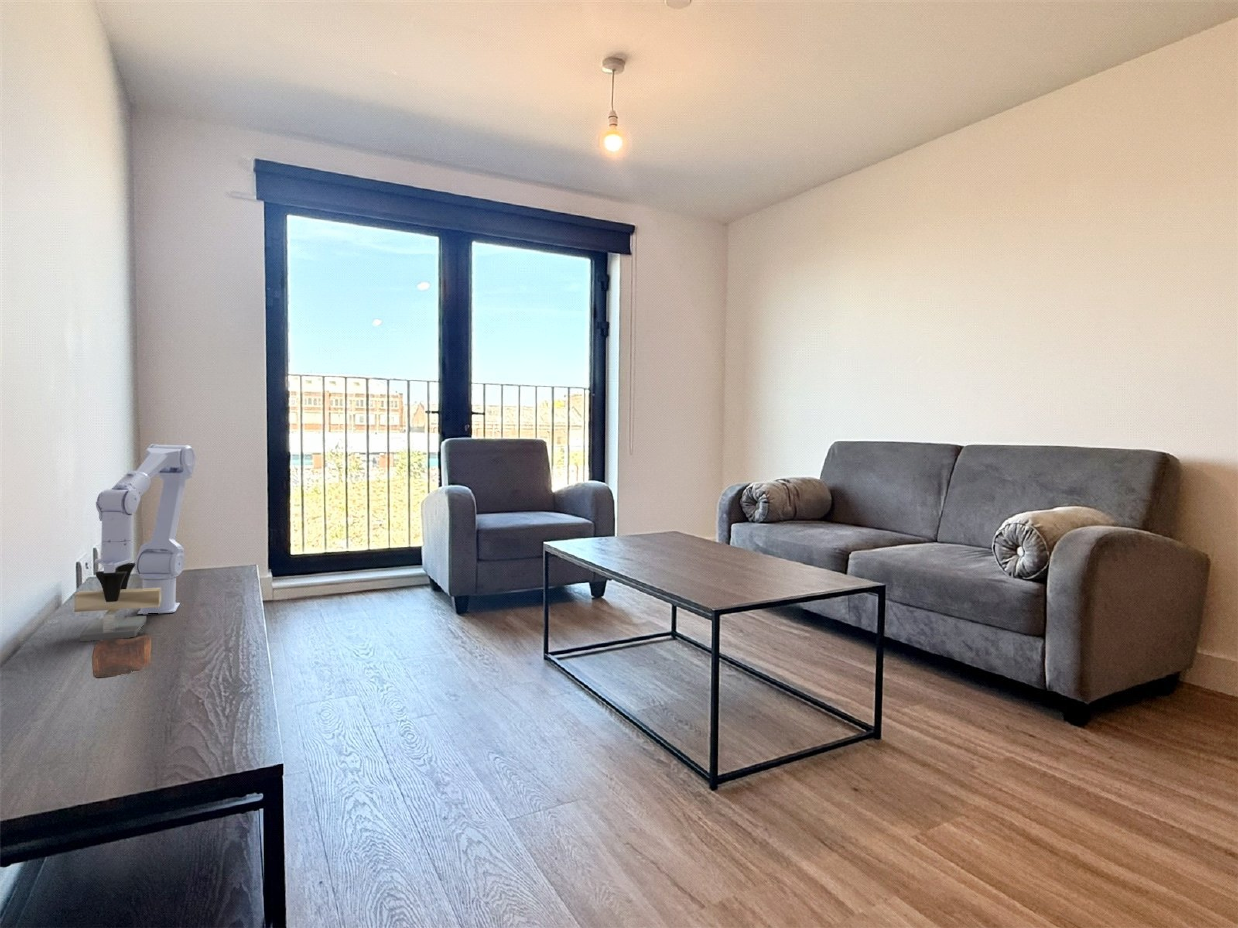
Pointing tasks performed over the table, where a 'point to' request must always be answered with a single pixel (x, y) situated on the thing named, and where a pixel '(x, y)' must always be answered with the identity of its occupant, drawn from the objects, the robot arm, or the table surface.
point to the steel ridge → (113, 619)
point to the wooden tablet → (121, 656)
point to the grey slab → (123, 631)
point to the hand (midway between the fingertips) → (115, 597)
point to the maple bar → (125, 601)
